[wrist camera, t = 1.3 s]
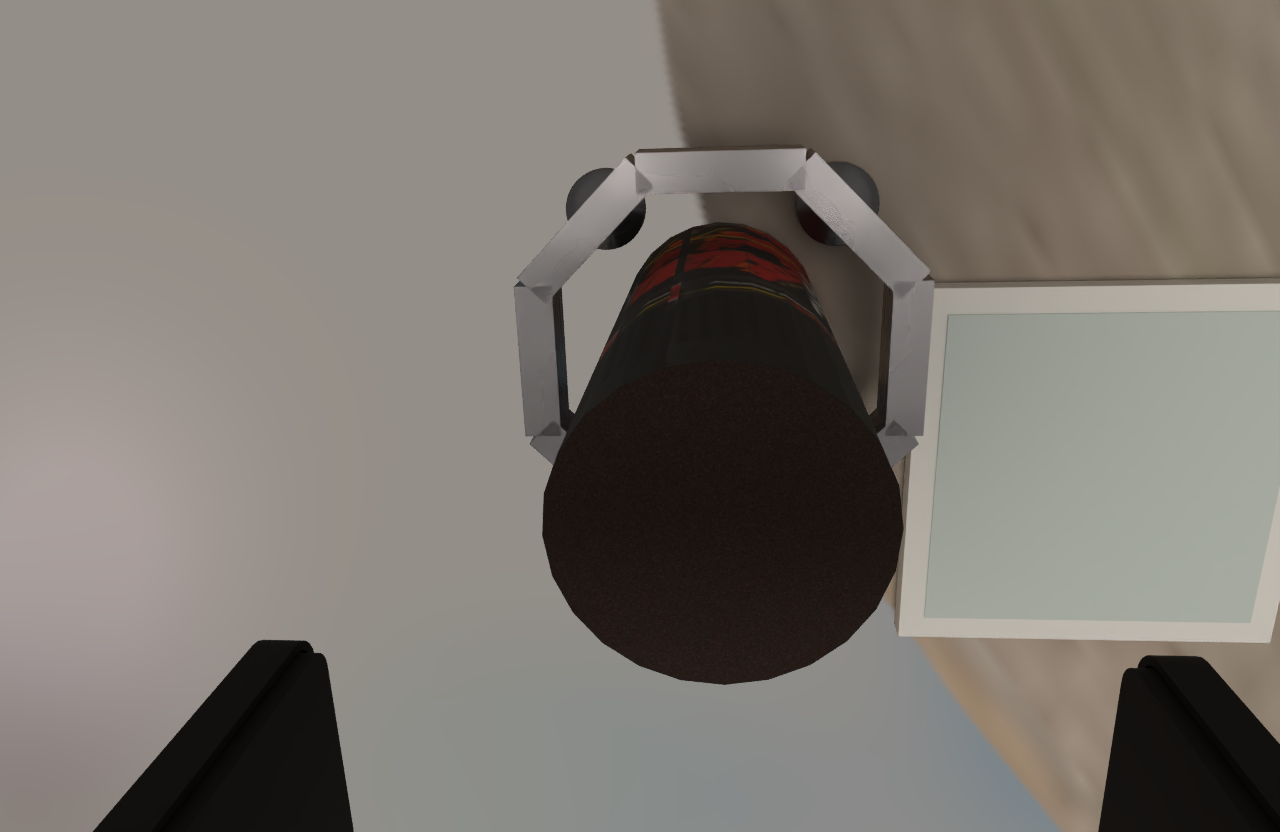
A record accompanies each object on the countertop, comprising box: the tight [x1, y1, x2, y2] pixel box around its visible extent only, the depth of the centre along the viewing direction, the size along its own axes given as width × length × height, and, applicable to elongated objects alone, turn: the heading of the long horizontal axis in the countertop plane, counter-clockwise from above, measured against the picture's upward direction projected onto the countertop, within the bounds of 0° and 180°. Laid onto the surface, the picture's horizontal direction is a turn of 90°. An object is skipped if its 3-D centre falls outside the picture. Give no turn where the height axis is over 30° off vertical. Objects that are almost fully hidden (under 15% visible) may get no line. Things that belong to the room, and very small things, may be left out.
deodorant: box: [542, 223, 904, 685], centre depth 22 cm, size 6×6×15 cm
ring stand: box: [514, 145, 935, 468], centre depth 27 cm, size 11×11×5 cm
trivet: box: [894, 278, 1280, 643], centre depth 30 cm, size 12×12×1 cm
